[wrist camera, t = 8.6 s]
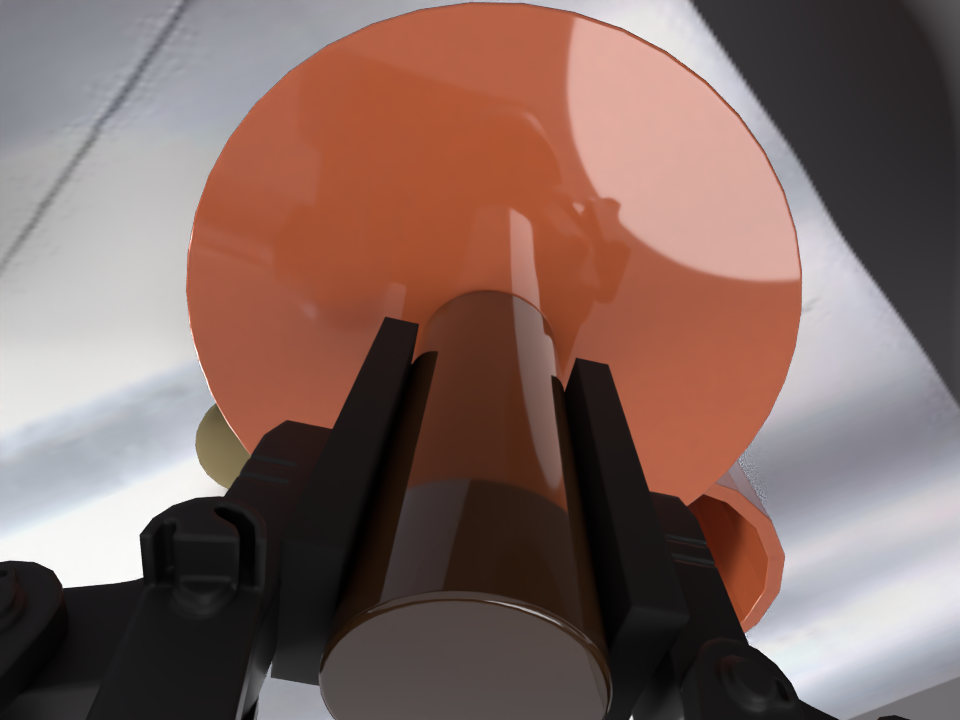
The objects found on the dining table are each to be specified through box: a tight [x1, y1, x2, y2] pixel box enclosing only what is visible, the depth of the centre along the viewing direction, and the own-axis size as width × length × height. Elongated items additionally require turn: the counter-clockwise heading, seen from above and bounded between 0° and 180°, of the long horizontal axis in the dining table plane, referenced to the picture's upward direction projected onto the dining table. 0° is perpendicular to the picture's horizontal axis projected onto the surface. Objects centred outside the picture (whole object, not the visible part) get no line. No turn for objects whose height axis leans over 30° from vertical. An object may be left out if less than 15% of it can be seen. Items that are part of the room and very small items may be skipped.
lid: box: [186, 2, 802, 720], centre depth 11 cm, size 16×16×10 cm
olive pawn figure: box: [195, 403, 251, 489], centre depth 31 cm, size 6×6×11 cm
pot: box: [687, 461, 785, 633], centre depth 34 cm, size 15×15×10 cm
